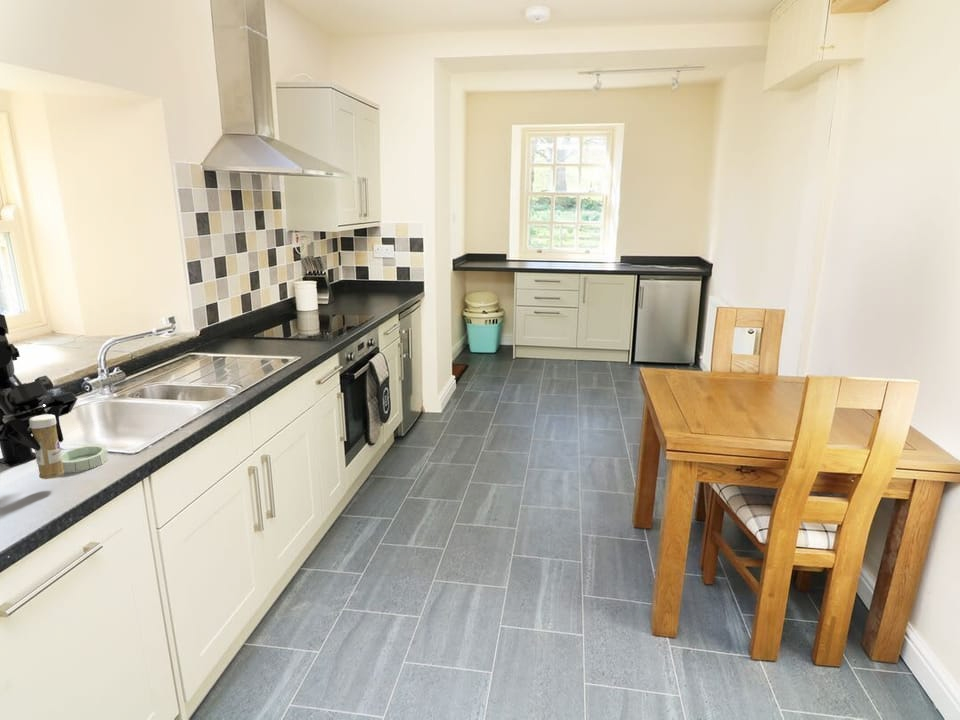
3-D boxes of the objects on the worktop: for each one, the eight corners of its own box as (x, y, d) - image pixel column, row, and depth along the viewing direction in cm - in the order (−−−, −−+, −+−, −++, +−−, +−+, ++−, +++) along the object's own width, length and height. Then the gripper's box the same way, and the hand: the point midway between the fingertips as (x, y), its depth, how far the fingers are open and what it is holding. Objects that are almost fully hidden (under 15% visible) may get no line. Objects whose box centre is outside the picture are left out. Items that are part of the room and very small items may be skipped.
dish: (50, 467, 137) (47, 457, 137) (93, 451, 146) (91, 442, 145) (73, 475, 133) (71, 465, 132) (117, 458, 141) (115, 449, 141)
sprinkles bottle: (64, 476, 126) (55, 417, 123) (38, 481, 123) (28, 421, 120) (64, 469, 129) (55, 412, 126) (39, 474, 127) (29, 415, 124)
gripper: (-35, 380, 113) (13, 440, 112) (63, 356, 130) (105, 409, 129) (-48, 413, 118) (-2, 471, 117) (48, 386, 135) (89, 436, 134)
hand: (50, 445), depth 124 cm, fingers closed on sprinkles bottle, 4 cm apart
